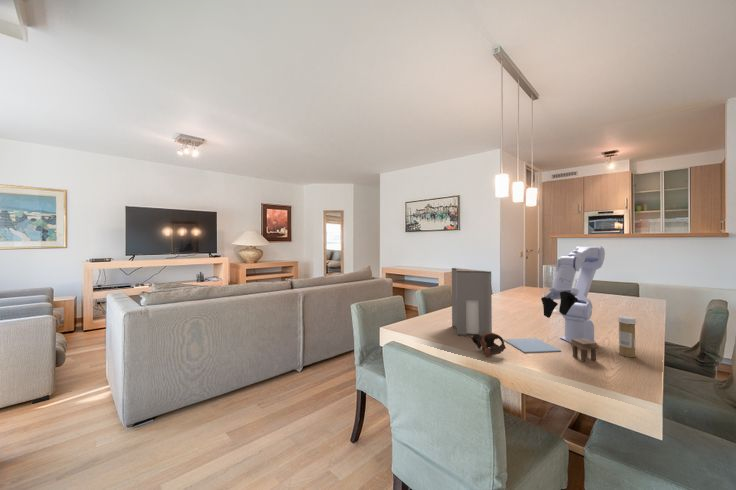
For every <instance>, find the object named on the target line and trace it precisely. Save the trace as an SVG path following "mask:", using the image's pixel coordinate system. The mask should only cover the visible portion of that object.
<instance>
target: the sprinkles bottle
mask: <svg viewBox="0 0 736 490" xmlns="http://www.w3.org/2000/svg"><path fill="white" fill-rule="evenodd" d="M636 320H637V319H636V318H635V317H634V316H629V315H628V316H627V315H619V316H618V345H619V347H618V349H619V351H618V352H619V355H621V356H623V357H627V358H636V356H637V354H636V346H637V345H636V322H637V321H636Z"/></svg>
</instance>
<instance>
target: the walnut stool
mask: <svg viewBox="0 0 736 490" xmlns="http://www.w3.org/2000/svg"><path fill="white" fill-rule="evenodd" d="M595 342H596V341H595ZM595 342H593V341H590V340H588V339H585V338H583V339H572V343H571V345H572V357H573V358H579V355H578V350H579V349H580V361H581V362H587V357H588V351H589V350H590V361H593V362H596V361H597V350H598V342H596V343H595Z"/></svg>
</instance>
